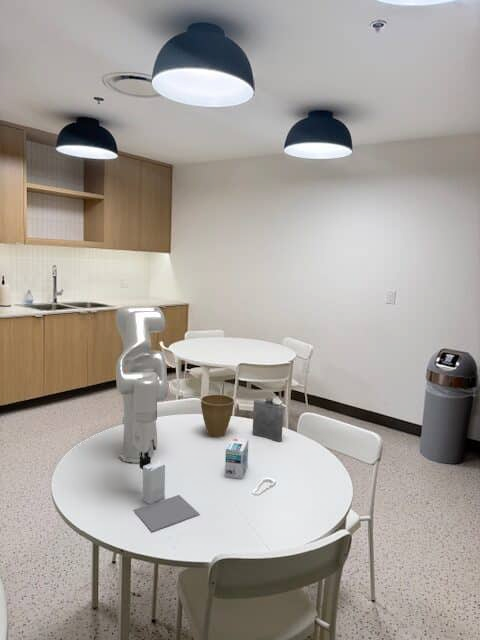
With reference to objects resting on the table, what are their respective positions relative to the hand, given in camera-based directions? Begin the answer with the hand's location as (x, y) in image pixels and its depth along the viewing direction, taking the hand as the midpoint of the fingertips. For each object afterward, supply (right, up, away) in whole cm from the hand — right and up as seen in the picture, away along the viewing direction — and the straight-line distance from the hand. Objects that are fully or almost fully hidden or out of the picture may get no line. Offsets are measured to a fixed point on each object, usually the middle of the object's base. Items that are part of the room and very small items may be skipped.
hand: (145, 467), depth 150 cm
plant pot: (+21, -2, +51) cm, 55 cm away
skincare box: (+4, -9, -4) cm, 11 cm away
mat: (+9, -10, -11) cm, 18 cm away
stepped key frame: (+40, -10, +7) cm, 42 cm away
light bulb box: (+30, -7, +17) cm, 36 cm away
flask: (+44, -3, +49) cm, 66 cm away
